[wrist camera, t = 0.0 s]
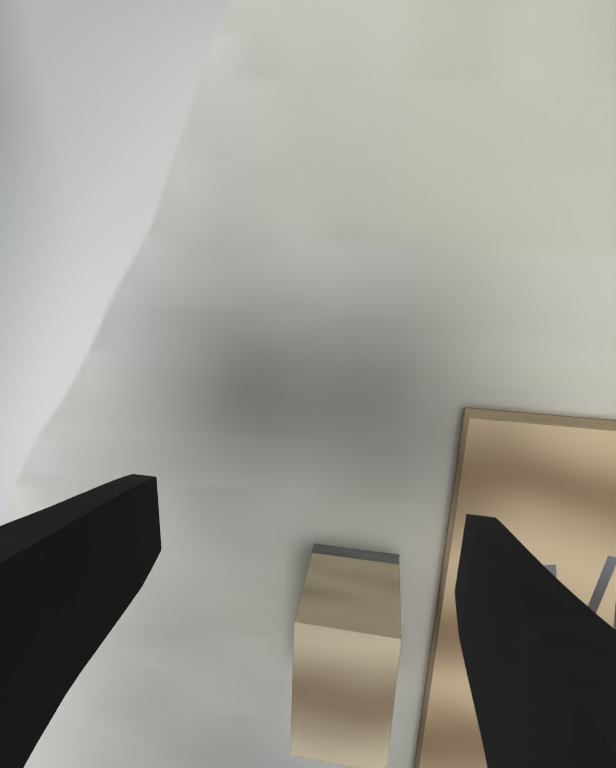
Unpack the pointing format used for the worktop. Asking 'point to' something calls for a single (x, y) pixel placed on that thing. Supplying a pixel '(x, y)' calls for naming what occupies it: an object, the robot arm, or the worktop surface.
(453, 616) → the board
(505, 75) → the worktop surface
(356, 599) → the block
